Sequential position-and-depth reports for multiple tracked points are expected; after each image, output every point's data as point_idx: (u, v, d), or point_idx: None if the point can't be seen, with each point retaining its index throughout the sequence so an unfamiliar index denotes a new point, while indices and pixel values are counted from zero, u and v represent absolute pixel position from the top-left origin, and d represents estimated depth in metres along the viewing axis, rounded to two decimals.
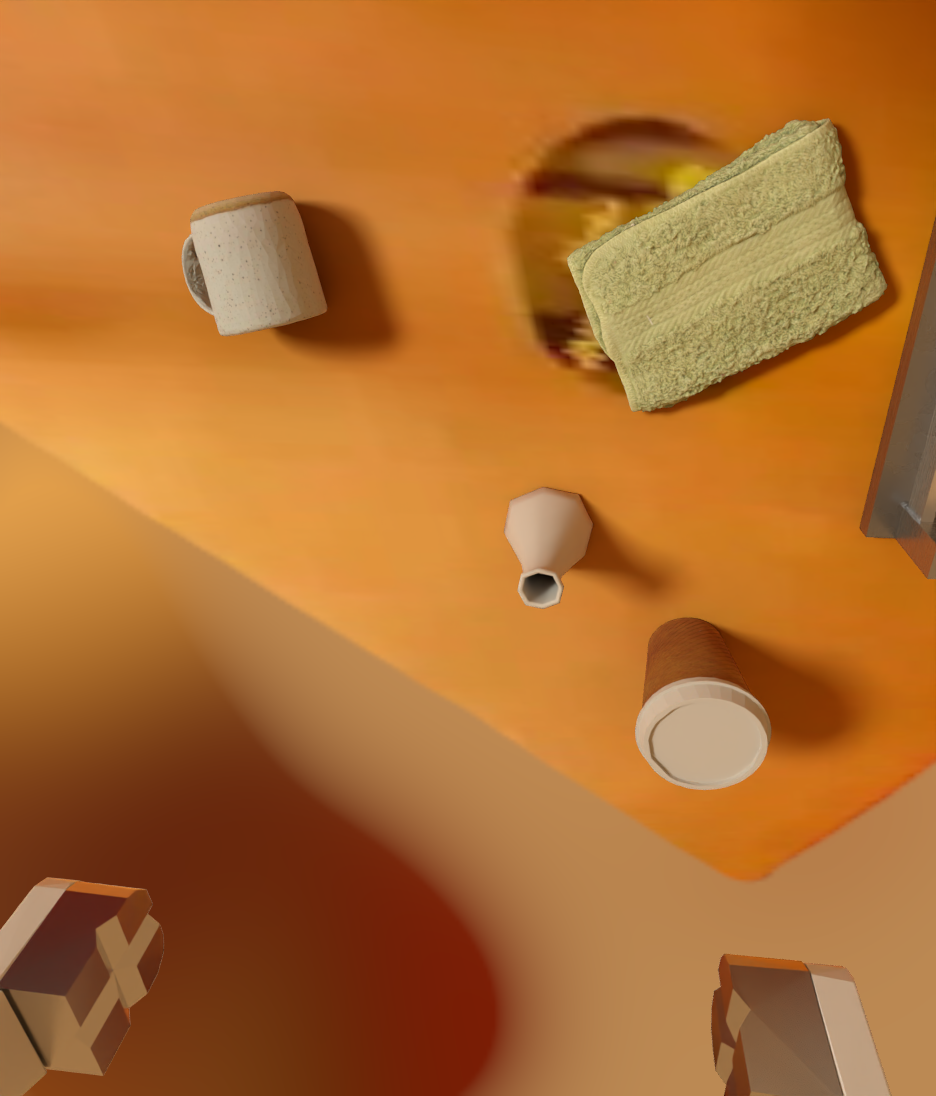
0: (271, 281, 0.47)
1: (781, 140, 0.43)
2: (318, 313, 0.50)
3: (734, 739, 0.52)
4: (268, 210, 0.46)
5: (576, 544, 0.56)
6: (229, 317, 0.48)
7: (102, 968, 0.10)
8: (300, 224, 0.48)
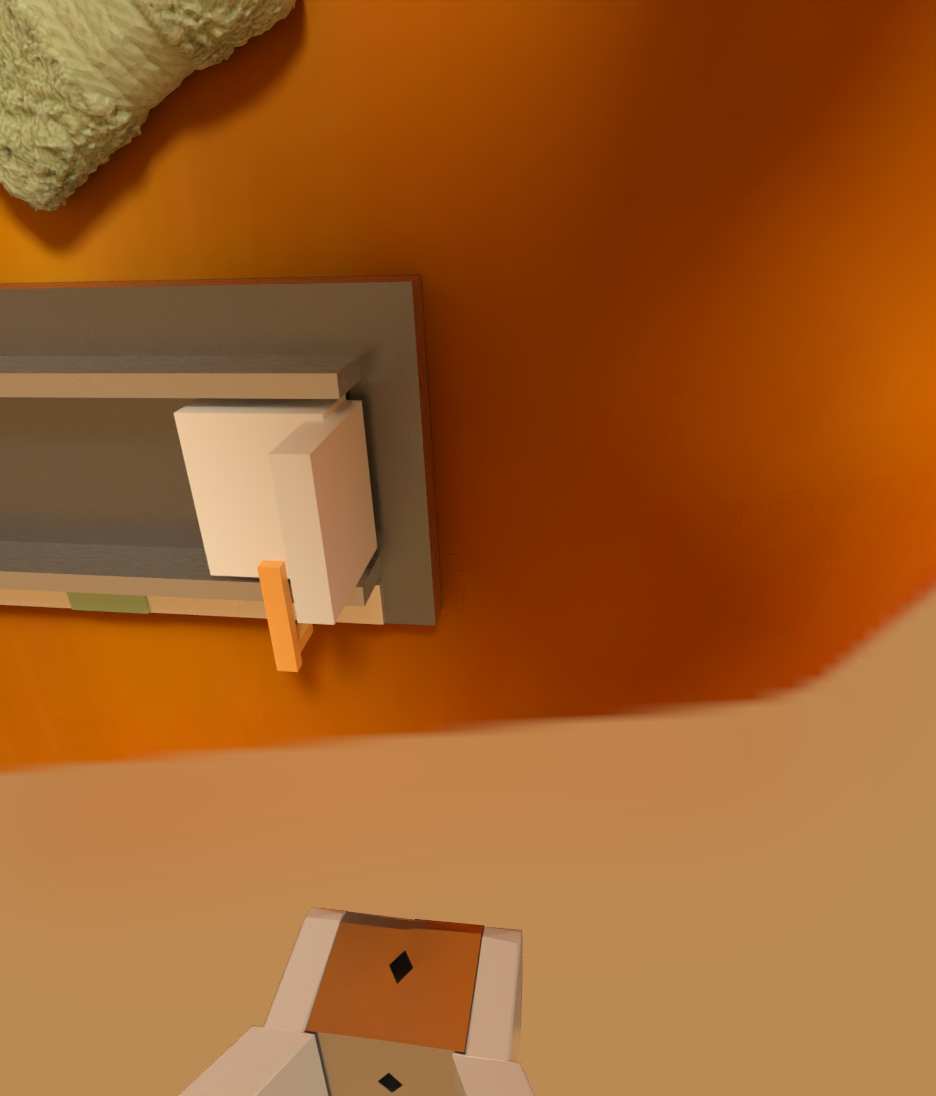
0: None
1: None
2: None
3: None
4: None
5: None
6: None
7: None
8: None
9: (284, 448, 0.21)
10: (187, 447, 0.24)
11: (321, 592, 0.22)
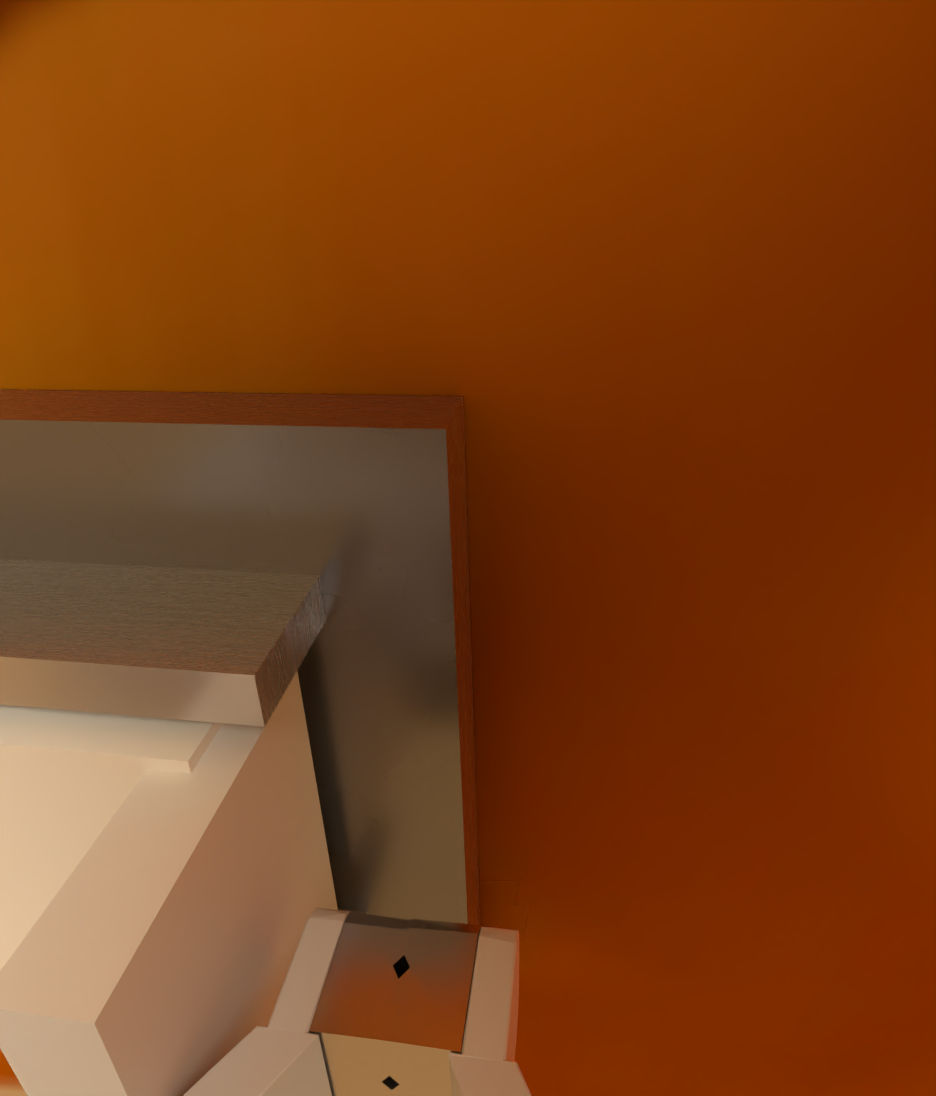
0: None
1: None
2: None
3: None
4: None
5: None
6: None
7: None
8: None
9: (36, 962, 0.07)
10: None
11: None
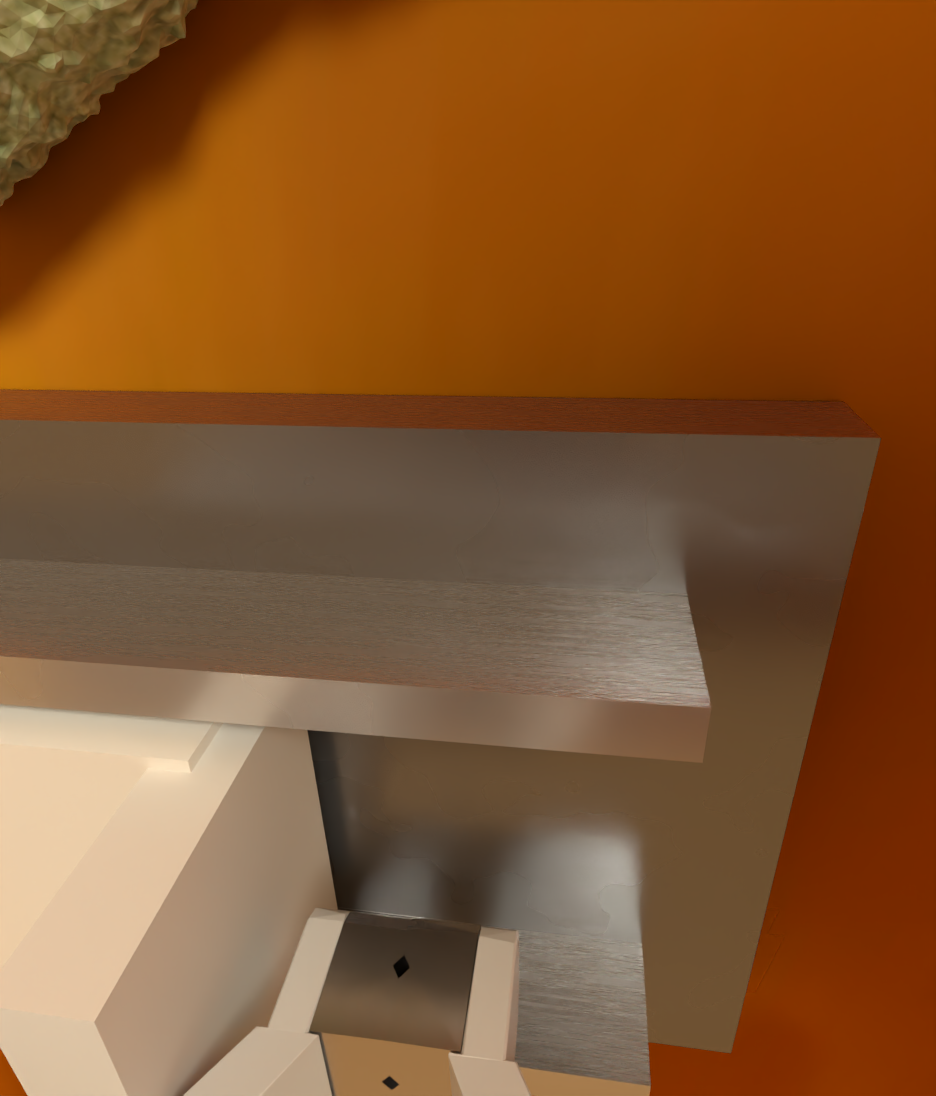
0: None
1: None
2: None
3: None
4: None
5: None
6: None
7: None
8: None
9: (36, 961, 0.07)
10: None
11: None
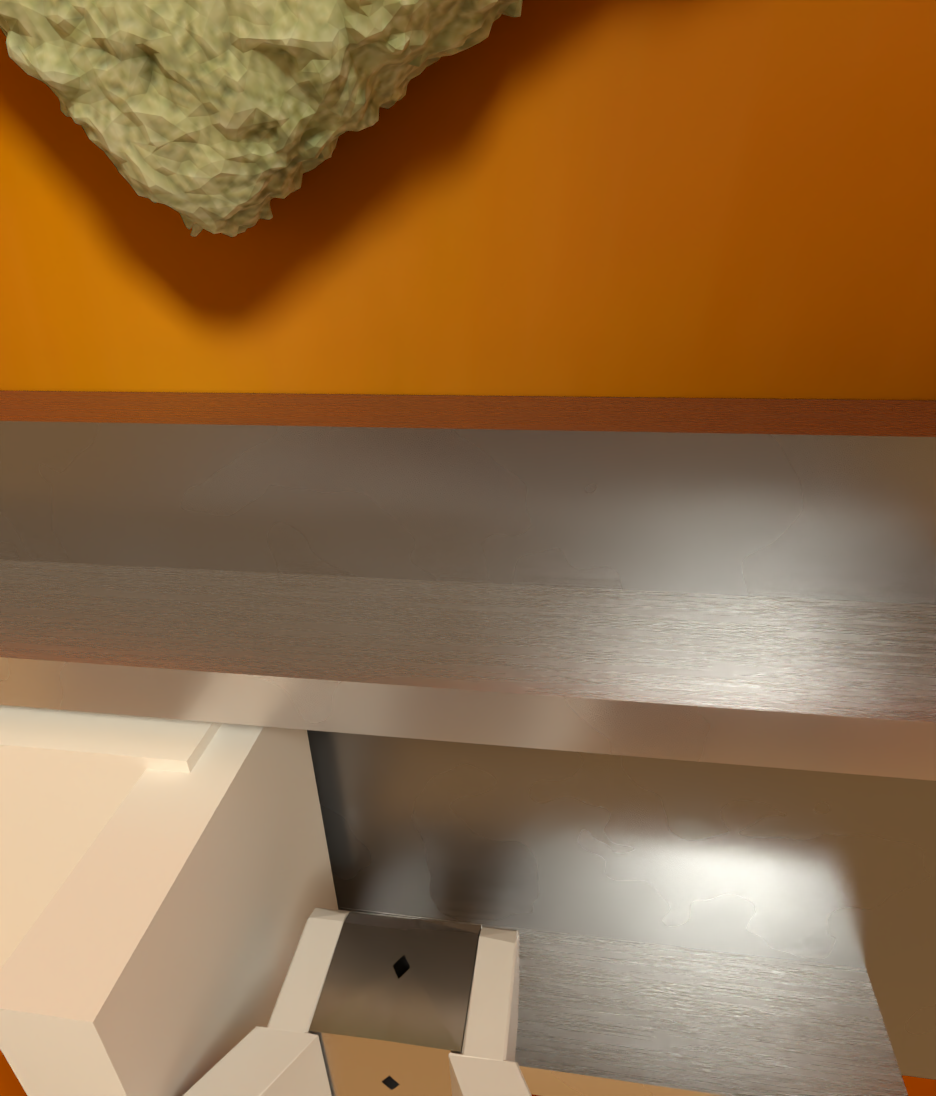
0: None
1: None
2: None
3: None
4: None
5: None
6: None
7: None
8: None
9: (35, 961, 0.07)
10: None
11: None
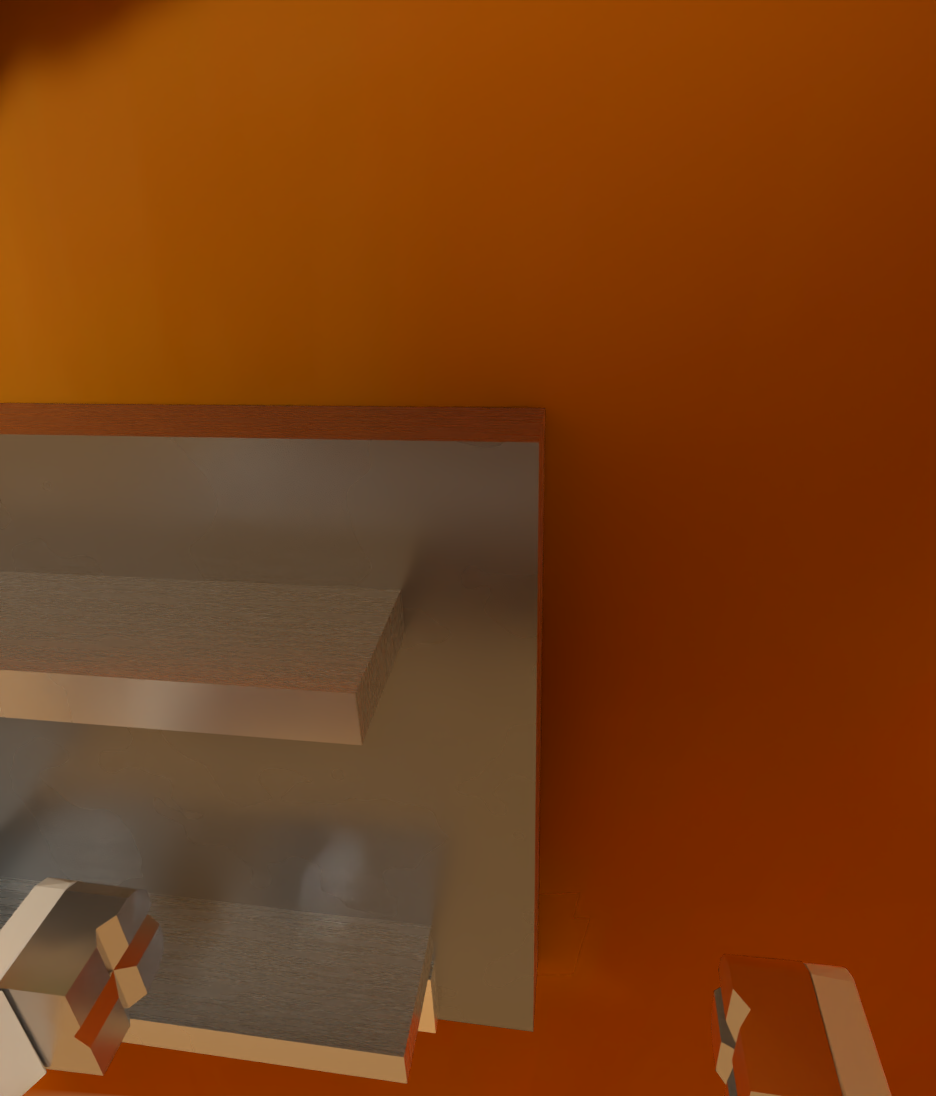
0: None
1: None
2: None
3: None
4: None
5: None
6: None
7: (102, 968, 0.10)
8: None
9: None
10: None
11: None
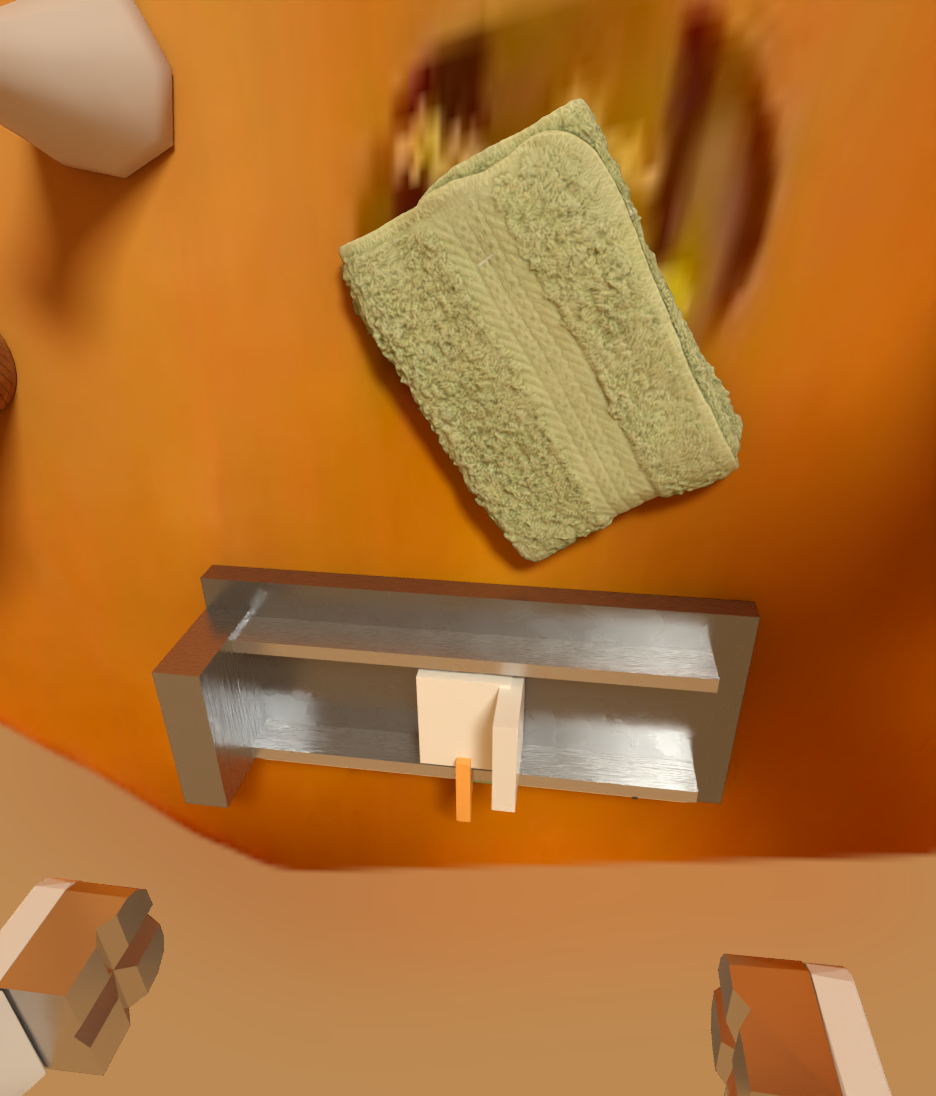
0: None
1: (725, 415, 0.32)
2: None
3: None
4: None
5: (68, 145, 0.29)
6: None
7: (102, 968, 0.10)
8: None
9: (499, 720, 0.36)
10: (420, 695, 0.39)
11: (510, 795, 0.37)
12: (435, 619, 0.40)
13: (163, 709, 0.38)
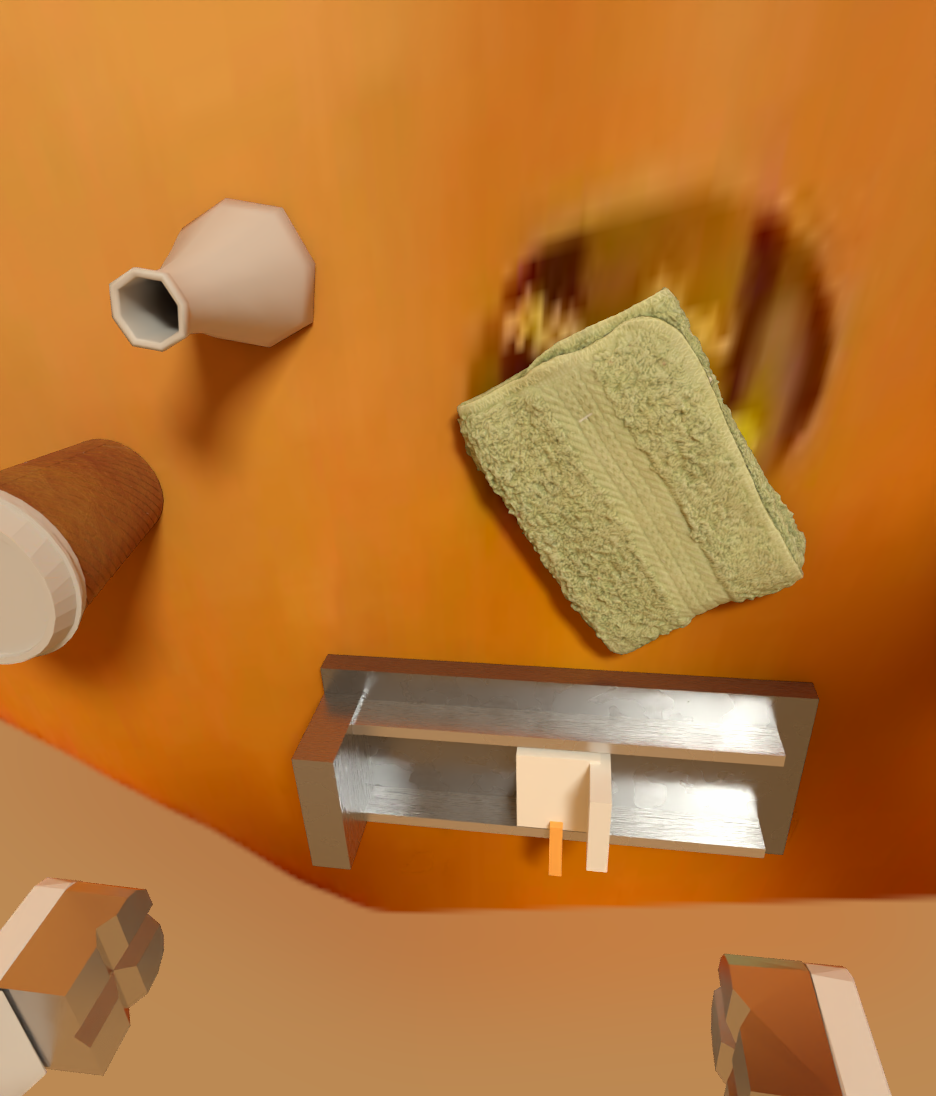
0: None
1: (791, 537, 0.38)
2: None
3: None
4: None
5: (236, 337, 0.35)
6: None
7: (102, 968, 0.10)
8: None
9: (595, 796, 0.41)
10: (519, 769, 0.45)
11: (603, 858, 0.43)
12: (529, 702, 0.46)
13: (299, 789, 0.44)
